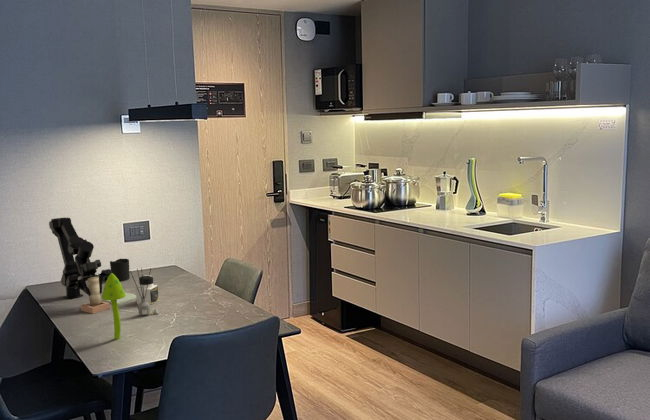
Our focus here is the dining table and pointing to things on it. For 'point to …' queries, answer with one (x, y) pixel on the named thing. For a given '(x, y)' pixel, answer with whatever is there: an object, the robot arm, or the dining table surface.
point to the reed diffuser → (144, 300)
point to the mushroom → (114, 300)
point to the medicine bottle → (151, 290)
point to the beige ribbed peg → (94, 291)
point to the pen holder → (120, 269)
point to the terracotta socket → (95, 309)
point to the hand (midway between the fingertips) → (95, 294)
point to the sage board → (123, 299)
